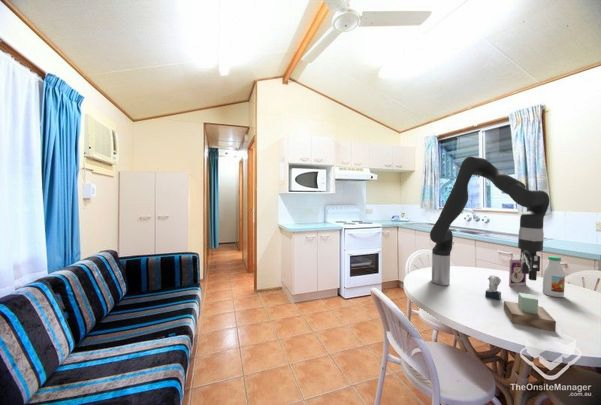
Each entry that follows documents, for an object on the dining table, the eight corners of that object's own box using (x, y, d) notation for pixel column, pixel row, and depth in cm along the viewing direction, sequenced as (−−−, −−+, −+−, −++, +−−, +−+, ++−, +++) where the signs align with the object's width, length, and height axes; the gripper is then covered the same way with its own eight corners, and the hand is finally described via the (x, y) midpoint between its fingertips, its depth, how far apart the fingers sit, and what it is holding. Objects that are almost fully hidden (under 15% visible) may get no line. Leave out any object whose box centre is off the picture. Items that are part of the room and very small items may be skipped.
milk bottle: (542, 294, 126) (544, 257, 125) (542, 290, 131) (543, 254, 130) (564, 299, 120) (566, 259, 120) (563, 294, 126) (564, 256, 125)
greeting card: (510, 286, 137) (511, 260, 136) (498, 281, 144) (498, 256, 143) (527, 285, 139) (528, 259, 138) (514, 280, 146) (515, 256, 145)
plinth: (511, 322, 100) (512, 313, 99) (503, 309, 111) (503, 300, 111) (555, 331, 93) (555, 321, 93) (542, 316, 105) (542, 307, 105)
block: (521, 311, 101) (522, 297, 101) (517, 306, 105) (518, 292, 105) (537, 314, 99) (538, 299, 98) (533, 308, 103) (533, 295, 103)
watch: (501, 296, 124) (502, 275, 124) (498, 301, 119) (499, 279, 118) (488, 293, 128) (488, 272, 128) (484, 297, 123) (484, 276, 122)
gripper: (513, 234, 108) (512, 270, 109) (524, 240, 96) (522, 280, 97) (536, 236, 105) (534, 272, 106) (550, 242, 92) (548, 284, 93)
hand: (528, 276), depth 101 cm, fingers open, 8 cm apart
